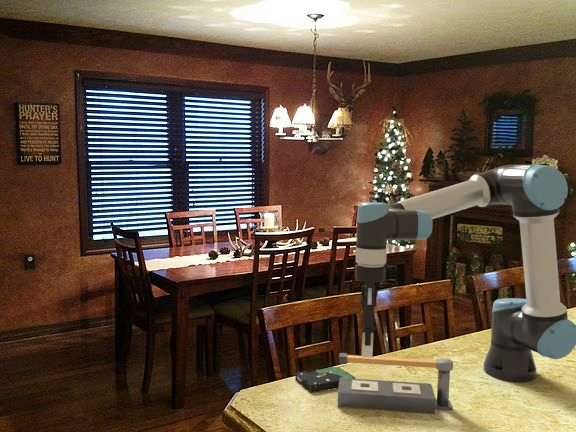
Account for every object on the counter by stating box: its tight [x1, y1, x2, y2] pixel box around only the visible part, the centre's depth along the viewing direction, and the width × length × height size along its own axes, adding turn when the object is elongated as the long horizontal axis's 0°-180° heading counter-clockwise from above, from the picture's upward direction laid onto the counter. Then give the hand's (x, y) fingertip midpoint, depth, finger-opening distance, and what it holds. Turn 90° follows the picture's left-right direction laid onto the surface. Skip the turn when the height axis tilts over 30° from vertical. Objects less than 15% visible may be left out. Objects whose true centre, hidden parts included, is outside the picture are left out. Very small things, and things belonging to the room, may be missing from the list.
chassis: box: [337, 378, 437, 415], centre depth 147 cm, size 25×10×4 cm, turn 82°
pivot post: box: [435, 369, 453, 411], centre depth 145 cm, size 4×4×10 cm
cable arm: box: [338, 352, 454, 372], centre depth 146 cm, size 30×4×2 cm, turn 82°
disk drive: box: [294, 366, 356, 394], centre depth 160 cm, size 10×3×15 cm
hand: (367, 356), depth 138 cm, fingers closed
